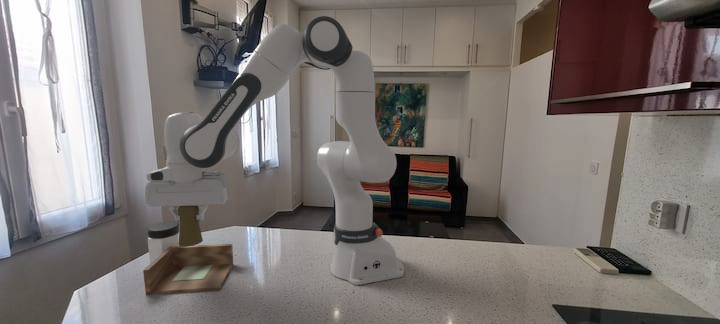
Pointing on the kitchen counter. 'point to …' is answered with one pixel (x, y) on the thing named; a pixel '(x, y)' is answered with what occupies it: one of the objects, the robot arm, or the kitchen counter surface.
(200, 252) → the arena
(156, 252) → the jar
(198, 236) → the olive pepper mill
